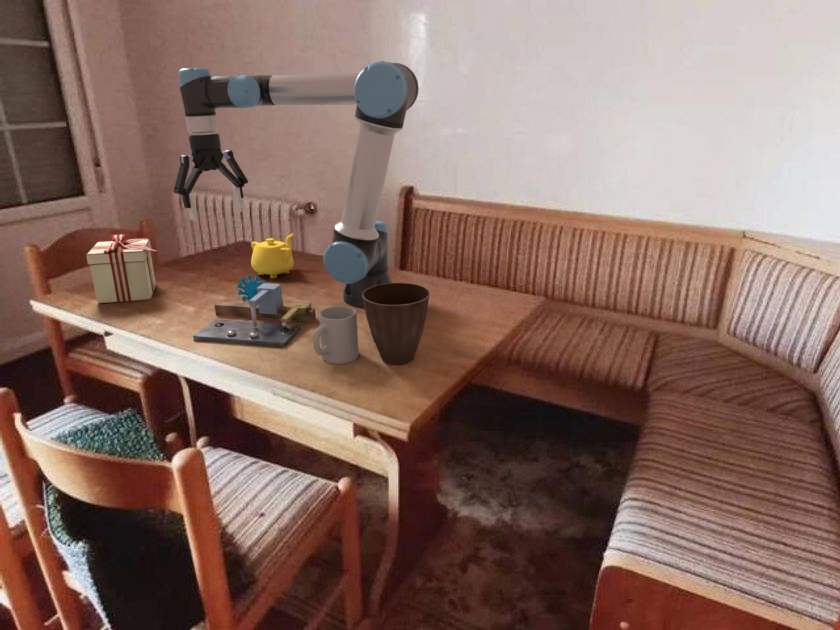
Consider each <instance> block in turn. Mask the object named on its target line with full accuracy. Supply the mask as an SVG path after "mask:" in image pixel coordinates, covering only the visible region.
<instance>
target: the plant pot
mask: <svg viewBox="0 0 840 630" xmlns="http://www.w3.org/2000/svg"><path fill="white" fill-rule="evenodd" d="M362 298H363V303H364V307H363V308H364V312H365V316H366V320H367V324H368V327H369V330H370V334H371V337H372V339H373V342H374V344H375V347H376V349H377V351H378V354H379V356H380V359H381V360H382V361H383V362H384V363H386V364H388V365H391V366H392V365H394V366H400V365H402V366H403V365H406V364H409V363H411V362H412V361H413V360H414V358H415V356H416V353H417V351H418V348H419V345H420V342H421V340H422V336H423V332H424V328H425V325H426V320H427V319H426V318H427V313H428V308H429V301H430V300H429V299H430V291H429V290H428V288H426V287H424V286H422V285H419V284H416V283H409V282H392V283H386V284H380V285H376V286H372V287H370V288H368V289H366V290H365V291H364V292H363V293H362Z"/></svg>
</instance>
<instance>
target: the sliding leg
mask: <svg viewBox="0 0 840 630" xmlns="http://www.w3.org/2000/svg"><path fill="white" fill-rule="evenodd" d="M248 302H249V303H248V304H250V306H251V313H252V318H251V322H253V326H254V327H256V326H257V322H258V321H257V318H256V312H255V307H256V306H257V305H258V306H259V313H262V314H276V315H277V314H278V308H279V307H280V306H284V301H283V291H282V285H281V283H268V282H267V283H263V284H261V285H260V286H259V287H257V295H255V296H254V297H253V298H252V299H250V300H248Z"/></svg>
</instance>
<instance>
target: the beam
mask: <svg viewBox="0 0 840 630" xmlns="http://www.w3.org/2000/svg"><path fill="white" fill-rule="evenodd" d="M287 306H288V305H287ZM287 306H284V305H283V306H280V307H279V308H278V314H277V315H276V314H262V313H259V306H258V305H257V306H256V307H255V312H256V319H264V320H266V319H268V320H279V321H281V318H282V317H283V316H284V315H285V314H286V313H287ZM214 312H215V316H225V317H237V318H251V319H252V313H251V306H250V304H249V303H244V302H243V303H242V302H231V301H230V302H228V301H218V302H216V303H215V304H214ZM316 317H317V315H316V308H315V307H311V308H308V309H307V310H306V316H305V317H304V316H294V317H293V318H292V319H291V320H290V321H294V322H304V323H305V322H309V323H313V322H314V321H315V320H316V319H317V318H316Z"/></svg>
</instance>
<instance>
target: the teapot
mask: <svg viewBox="0 0 840 630" xmlns="http://www.w3.org/2000/svg"><path fill="white" fill-rule="evenodd" d="M293 236H294V233H290V234H289V235H287V236H286V238H285V241H284V242H283V241H279V240H275V238H273V237H272V238H271V237H270V238H266V239H265V241H262V242H258V241H251V243H250V247H251V249H252V255H251V261H250V264H251V265H250V266H251V267H252V269H253V270H254V271H255V272H256V273H257V276H259V275H262V276H265V275H269V278H270V279H277V278H278V275H279V274H284V275H285V274H286V275H287V274H290V271H291V270H292V269H293V266H294V263H295V262H294V257H293V250H292V241H291V239H292V237H293ZM264 274H265V275H264Z"/></svg>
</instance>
